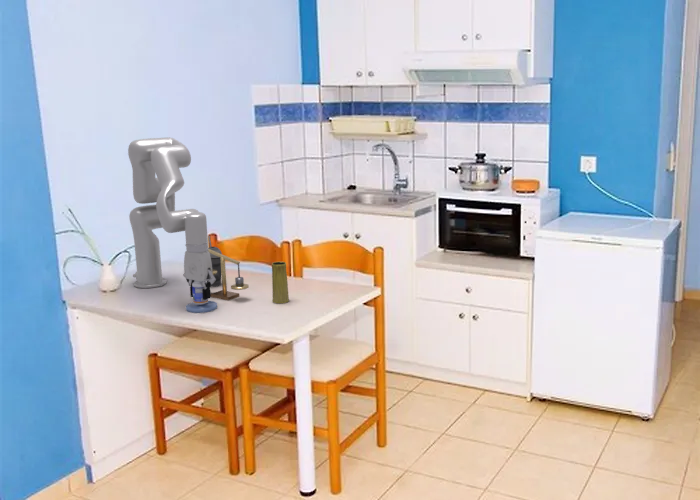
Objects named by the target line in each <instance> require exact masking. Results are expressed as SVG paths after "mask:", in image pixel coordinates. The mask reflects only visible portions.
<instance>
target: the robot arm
mask: <svg viewBox="0 0 700 500" xmlns="http://www.w3.org/2000/svg"><path fill="white" fill-rule="evenodd" d="M127 152H128V153H127V155H128V159H129V161H130V164H131V168H132V169H131V170H132V195H133V199H134V202H136V203H138V204H146V205H141V206H138V207H135V208H133V209H131V211H130V213H129V214H128V216H129V223H130V226H131V230H132V234H133V242H134V244H133V245H134V253H135V266H136V271H135V272H134V273H133V274H132V277H133V278H135V279H136V280H135V281H134V282H133V286H134V287H136V288H139V289H151V288H152V289H153V288H159V287H161V286H164V285H166V284H167V279H166V278H163V273H162V272H163V271H162V259H161V249H160V248H161V247H160V240H159V238H158V236H157V235H156V234H155V233H154V231H153V230H157V229H158V230H159V229H163V230H164V232H167V233H168V234H172V233H181V232H184V233H185V248H186V249H185V252H184V259H183V262H184V263H183V275H182V276H183V277H184V279H185V281H186V282H187V285H188V286H189V292H190V294H189V295H190V298H193V292H192V283H193V282H194V280H195V281H200V282H202V284H203V287H204V289H203V290H202V291H203V300H206V299H208V300H209V299H211V298H212V297H211V294H212V292H211V288H212V287H211V286H212V284H213V283H214V282H215V281H216V279H215V277H214V276H213V271H212V262H211V257H210V253H209V252H208V248H209V237H208V236H209V235H208V225H207V215H206V213H204V212H200V211H199V210H198V209H197V208H188V209H187V208H186V209H179V210H176V193H177V192H178V191H180V190H181V189H182V188H183V187H184V185H185V180H184V177H183V175H182V172H181V168H182V169H183V168H188V167H189V166H190V165H191V162H192V156H191V153H190V150H189V149H188V147H187V146H186V145H185V144H184V143H182V142H181V141H179V140H177V139H175V138H173V137H153V138H152V137H151V138H140V139H135V140H132V141H131V142H130V143H129V145H128V148H127ZM154 203H156V204H154ZM205 281H206V282H207V284H206V282H205Z"/></svg>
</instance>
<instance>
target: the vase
mask: <svg viewBox="0 0 700 500" xmlns="http://www.w3.org/2000/svg"><path fill="white" fill-rule="evenodd" d="M287 274H288V273H287V262H285V261H274V262H272V263H271V279H272V281H271V282H272V283H271V284H272V285H271V286H272V303H274V304H286V303H288V302H290V298H289V287H288V285H289V284H288V275H287Z"/></svg>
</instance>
